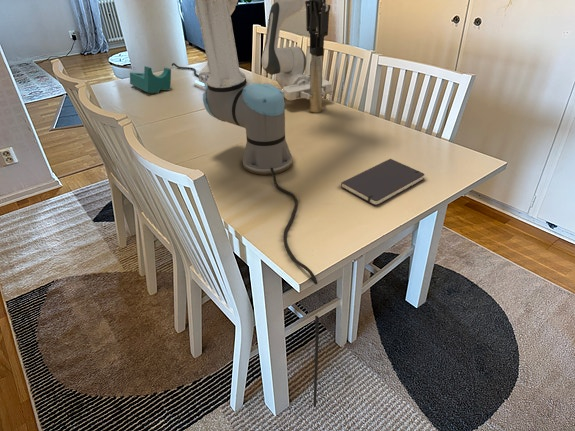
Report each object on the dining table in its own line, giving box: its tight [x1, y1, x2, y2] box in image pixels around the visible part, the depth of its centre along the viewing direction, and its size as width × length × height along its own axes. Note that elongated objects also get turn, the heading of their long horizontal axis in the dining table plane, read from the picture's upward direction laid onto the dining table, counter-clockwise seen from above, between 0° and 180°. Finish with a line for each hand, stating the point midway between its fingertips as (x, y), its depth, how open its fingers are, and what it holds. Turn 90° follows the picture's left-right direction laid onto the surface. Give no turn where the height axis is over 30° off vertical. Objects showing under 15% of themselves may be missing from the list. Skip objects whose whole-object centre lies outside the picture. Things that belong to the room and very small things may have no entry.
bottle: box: [309, 55, 324, 114], centre depth 154 cm, size 5×5×23 cm
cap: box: [310, 46, 316, 56], centre depth 148 cm, size 4×4×2 cm
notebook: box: [340, 158, 425, 206], centre depth 114 cm, size 13×2×21 cm
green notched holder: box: [129, 65, 172, 94], centre depth 185 cm, size 18×11×10 cm, turn 43°
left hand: (317, 95), depth 157 cm, fingers closed on bottle, 5 cm apart
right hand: (316, 54), depth 148 cm, fingers closed on cap, 4 cm apart
